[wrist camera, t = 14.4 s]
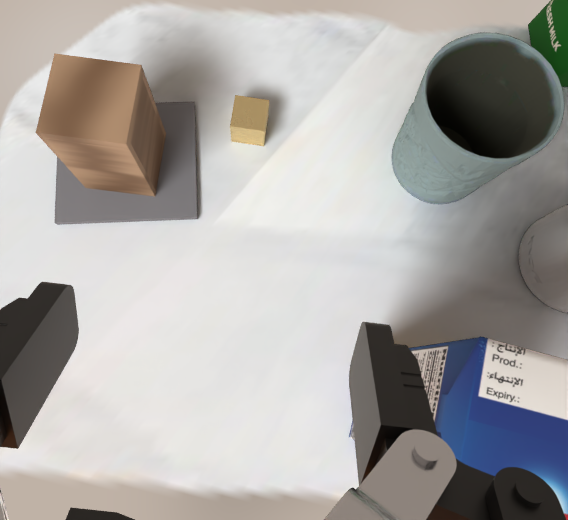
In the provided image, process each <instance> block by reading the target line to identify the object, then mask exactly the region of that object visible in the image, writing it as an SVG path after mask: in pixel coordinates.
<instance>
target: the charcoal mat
mask: <svg viewBox="0 0 568 520" xmlns="http://www.w3.org/2000/svg"><path fill="white" fill-rule="evenodd" d="M155 104H156V107H157V110H158V113H159V115H160V118H161V121H162V124H163V126H164V129H165V132H166V137H165V143H164V149H163V155H162V160H161V166H160V172H159V178H158V183H157V189H156V195H155V197H154V196H146V195H138V194H130V193H122V192H114V191H105V190H97V189H89V188H85V187H84V185H83V184H82V183H81V182H80V181H79V180H78V179H77V178H76V177H75V175H74V174H73V173H72V172H71V171H70V170H69V169H68V168H67V167H66V165H65V164H64V163H63V162H62V161H61V160H60V159H59V158H58V157H57V176H56V201H55V223H56V224H81V223H107V222H133V221H158V220H184V219H198V215H197V174H196V133H195V104H194V102H170V103H155Z"/></svg>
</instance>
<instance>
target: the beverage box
mask: <svg viewBox="0 0 568 520" xmlns="http://www.w3.org/2000/svg"><path fill="white" fill-rule="evenodd" d="M409 349H410V351H411V352H412V353H413V354H414V356H415V357H416V358H417V360H418V363H419V367H420V371H421V374H422V375H421V377H422V378H423V382H424V386H425V390H426V393H427V397H428V400H429V404H430V408H431V412H432V415H433V419H434V423H435V427H436V430H437V434H438V437H440V438H441V439H442V440H444V441H445V442H446V443H447V444H448V445H449V447H450V448H451V449H452V451H453V453H454V455H455V458H456V459H458V460H459V461H461V462H462V463H464V464H466V465H468V466H470V467H473V468H475V469H478V470H480V471H483V472H485V473H488V474H490V475H493V476H496V474H497V473H498V472H499V471H500V470H501V469H503V468H506V467H518V468H523V469H525V470H528V471H530V472H532V473H534V474H536V475H537V476H539V477H540V478H541V479H543V480H544V481H545V482H546V483H547V484H548V485H549V486H550V487H551V488H552V489H553V491H554V492H555V494H556V495H557V497H558V500H559V502H560V504H561V507H562V510H563V512H564V515H565V517H566V520H568V360H566V359H562V358H559V357H555V356H551V355H548V354H544V353H540V352H536V351H533V350H529V349H525V348H522V347H518V346H514V345H510V344H507V343H503V342H499V341H496V340H492V339H488V338H484V337H478V338H472V339H465V340H459V341H452V342H446V343H439V344H433V345H426V346H420V347H413V348H409ZM349 437H350V438H351V439H353V440H354V441H355V438H354V427H353V421H352V425H351V430H350V434H349Z"/></svg>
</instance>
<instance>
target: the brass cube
mask: <svg viewBox="0 0 568 520" xmlns="http://www.w3.org/2000/svg"><path fill="white" fill-rule="evenodd" d="M268 114H269V100H264V99H258V98H251V97H244V96H238V95H235V100H234V106H233V112H232V118H231V124H230V130H231V141H232V142H239V143H246V144H252V145H259V146H264V142H265V136H266V129H267V122H268Z"/></svg>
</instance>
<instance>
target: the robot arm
mask: <svg viewBox="0 0 568 520" xmlns="http://www.w3.org/2000/svg"><path fill="white" fill-rule="evenodd" d="M518 255H519V266H520V270H521V274H522V276H523V278H524V280H525V283H526V285H527V286H528V287H529V289H530V290H531V291H532V293H533V294H534V295H535V296H536V297H537V298H538V299H539V300H540V301H542V302H543V303H545V304H546V305H548V306H549V307H551V308H553V309H556V310H559V311H562V312H567V313H568V204H567V205H565V206H563V207H561V208H559V209H558V210H556V211H554V212H552V213H550V214H548V215H547V216H545V217H543V218H541V219H539V220H537V221H536V222H535V223H534V224H532V225H531V226H530V227H529V228H528V230H527V231H526V233H525V234H524V236H523V238H522V241H521V243H520V248H519V254H518ZM78 332H79V328H78V319H77V311H76V303H75V295H74V289H73V287H72V286H71V285H65V284H57V283H49V282H41V283H40V284H39V285H38V286H37V288H36V289H35V290H34V291H33V293H32V294H31V295H30V296H29V298H28V299H26V298H18V299H16V300H15V301H13V302H11V303H10V304H8V305H6V306H5V307H3V308H2V309H1V310H0V447H8V448H17V449H18V448H19V446H20V444H21V443H22V441H23V439H24V437H25V436H26V434H27V432H28V430H29V429H30V427H31V425H32V423H33V422H34V420H35V418H36V416H37V414H38V413H39V411H40V409H41V407H42V406H43V404H44V402H45V400H46V399H47V397H48V395H49V393H50V392H51V390H52V388H53V386H54V385H55V383H56V381H57V379H58V378H59V376H60V374H61V372H62V371H63V369H64V367H65V365H66V364H67V362H68V360H69V358H70V357H71V355H72V353H73V351H74V349H75V347H76V344H77V340H78ZM421 375H422V374H421V371H420V367H419V363H418V360H417V358H416V357H415V356H414V354H413V353H412V352H411V351H410V349H409V348H408V347H407V345H398V344H394V340H393V336H392V331H391V327H390V326H389V325H385V324H377V323H369V322H362V324H361V327H360V330H359V334H358V338H357V341H356V345H355V349H354V353H353V356H352V360H351V365H350V373H349V387H350V397H351V407H352V417H353V427H354V438H355V448H356V458H357V468H358V478H359V487H358V488H357V489H354V488H351V489H349V490H348V491H347V492H346V493H345V494H344V496H343V497H342V498H341V499H340V501H339V502H338V503H337V504H336V505H335V507H334V508H333V509H332V511H331V512H330V513H329V514H328V515H327V516H326V518H325V519H324V520H566V517H565V515H564V512H563V510H562V507H561V504H560V502H559V500H558V497H557V495H556V494H555V492H554V491H553V489H552V488H551V487H550V486H549V485H548V484H547V483H546V482H545V481H544V480H543V479H541V478H540V477H539V476H537V475H536V474H534V473H532V472H530V471H528V470H525V469H523V468H518V467H506V468H503V469H501V470H500V471H499V472H498V473H497V474H496V476H493V475H490V474H488V473H485V472H483V471H480V470H478V469H475V468H473V467H470V466H468V465H466V464H464V463H462V462H461V461H459V460H458V459H456V458H455V455H454V453H453V451H452V449H451V448H450V447H449V445H448V444H447V443H446V442H445V441H444V440H442V439H441V438H440V437H438V434H437V430H436V427H435V423H434V419H433V415H432V412H431V408H430V404H429V400H428V397H427V393H426V390H425V386H424V382H423V378H422V377H421ZM0 520H9V518H8V514H7V510H6V506H5V502H4V499H3V495H2V491H1V487H0ZM66 520H134V519H132V518H129V517H127V516H124V515H122V514H119V513H115V512H107V511H97V510H88V509H78V508H70V510H69V513H68V515H67V518H66Z"/></svg>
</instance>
